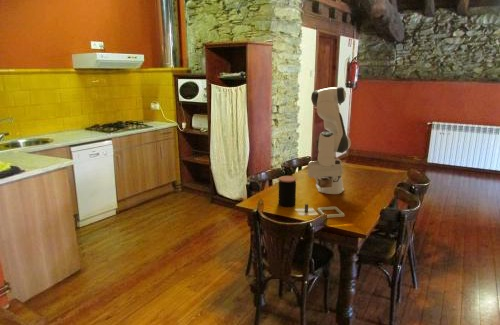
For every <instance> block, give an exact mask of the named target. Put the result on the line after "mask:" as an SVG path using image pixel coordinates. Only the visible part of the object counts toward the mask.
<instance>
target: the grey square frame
mask: <svg viewBox="0 0 500 325" xmlns="http://www.w3.org/2000/svg"><path fill="white" fill-rule="evenodd" d="M316 209H317V210H316V212H317V213H318V214H320V215H321V216H322V214H325V213H324V212H323V211H333V210H335V211H336V213H332V214H331V213H330V214H326V215H327V218H326V219H330V218H341V217H343V218H344V217H345V213H344V212H343V211H342V210H341V209H339V208H338V207H337V206H327V207H326V206H324V207H323V206H322V207H317V208H316Z"/></svg>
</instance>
